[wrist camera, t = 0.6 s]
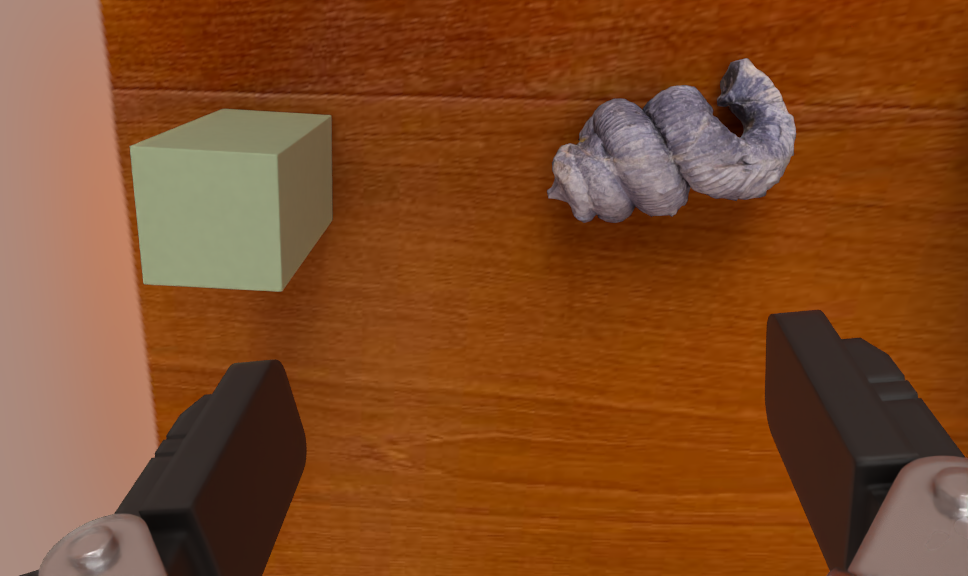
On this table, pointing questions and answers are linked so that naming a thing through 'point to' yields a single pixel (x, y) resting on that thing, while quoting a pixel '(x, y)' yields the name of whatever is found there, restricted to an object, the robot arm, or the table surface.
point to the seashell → (676, 150)
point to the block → (233, 198)
